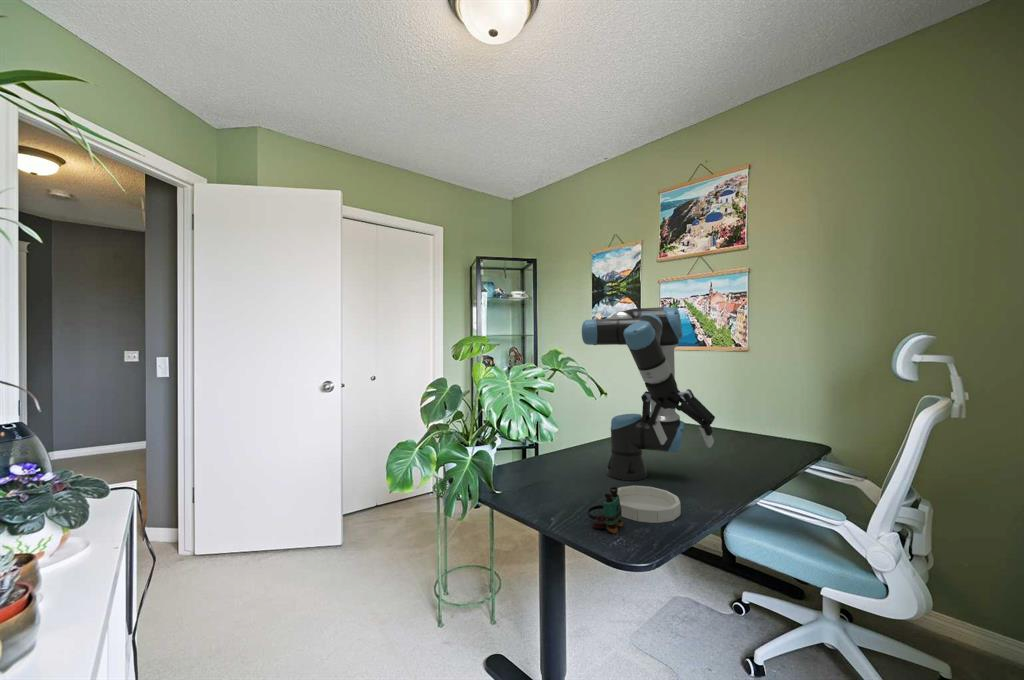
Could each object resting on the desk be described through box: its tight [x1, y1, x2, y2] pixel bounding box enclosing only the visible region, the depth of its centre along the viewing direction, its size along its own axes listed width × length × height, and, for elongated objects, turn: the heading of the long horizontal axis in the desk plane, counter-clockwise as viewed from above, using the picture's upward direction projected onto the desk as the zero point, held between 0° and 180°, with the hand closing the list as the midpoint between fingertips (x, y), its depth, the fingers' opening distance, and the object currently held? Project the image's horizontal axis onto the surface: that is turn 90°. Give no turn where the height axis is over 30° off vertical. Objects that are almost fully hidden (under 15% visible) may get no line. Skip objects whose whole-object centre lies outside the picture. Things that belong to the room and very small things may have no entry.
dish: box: [617, 485, 682, 524], centre depth 131 cm, size 20×20×4 cm
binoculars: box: [587, 486, 623, 534], centre depth 119 cm, size 9×11×10 cm
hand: (686, 443), depth 115 cm, fingers open, 13 cm apart
